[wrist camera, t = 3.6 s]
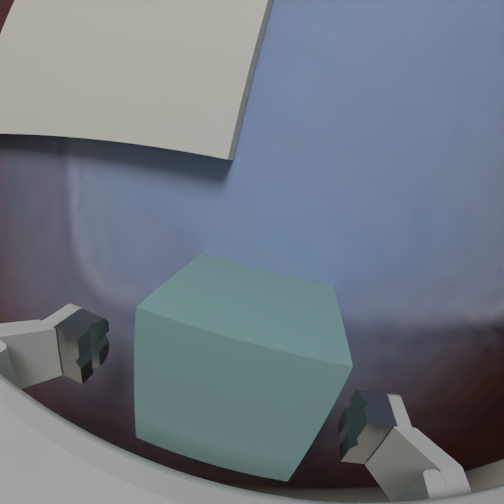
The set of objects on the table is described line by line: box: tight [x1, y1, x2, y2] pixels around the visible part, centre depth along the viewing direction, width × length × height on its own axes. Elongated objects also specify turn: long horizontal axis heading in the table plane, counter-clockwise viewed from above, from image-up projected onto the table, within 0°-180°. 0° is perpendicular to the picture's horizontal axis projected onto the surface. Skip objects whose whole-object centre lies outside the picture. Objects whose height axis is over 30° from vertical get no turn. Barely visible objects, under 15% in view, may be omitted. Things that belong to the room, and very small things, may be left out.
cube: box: [134, 253, 353, 481], centre depth 9 cm, size 5×5×5 cm
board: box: [0, 0, 273, 160], centre depth 9 cm, size 16×12×1 cm
